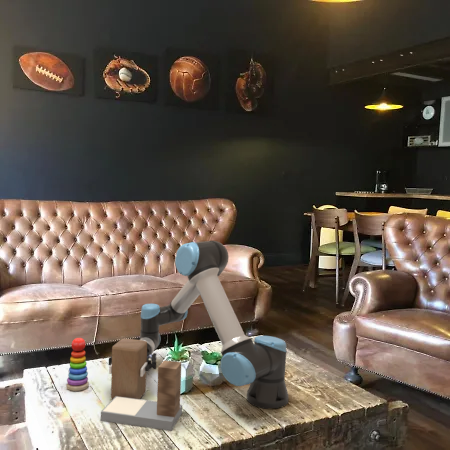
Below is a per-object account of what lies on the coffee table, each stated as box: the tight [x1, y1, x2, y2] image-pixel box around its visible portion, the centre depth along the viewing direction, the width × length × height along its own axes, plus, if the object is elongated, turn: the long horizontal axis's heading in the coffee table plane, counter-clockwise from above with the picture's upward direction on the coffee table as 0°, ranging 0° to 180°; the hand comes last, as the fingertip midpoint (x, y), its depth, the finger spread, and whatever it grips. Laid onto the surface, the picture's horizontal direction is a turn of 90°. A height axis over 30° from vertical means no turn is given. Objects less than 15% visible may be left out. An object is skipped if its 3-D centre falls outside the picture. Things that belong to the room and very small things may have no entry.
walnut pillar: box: [156, 360, 182, 417], centre depth 164 cm, size 6×6×16 cm
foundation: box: [100, 396, 183, 432], centre depth 166 cm, size 24×12×3 cm, turn 79°
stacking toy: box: [66, 337, 90, 392], centre depth 186 cm, size 8×8×19 cm
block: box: [110, 337, 147, 401], centre depth 180 cm, size 10×10×20 cm
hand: (125, 371), depth 176 cm, fingers closed on block, 11 cm apart
